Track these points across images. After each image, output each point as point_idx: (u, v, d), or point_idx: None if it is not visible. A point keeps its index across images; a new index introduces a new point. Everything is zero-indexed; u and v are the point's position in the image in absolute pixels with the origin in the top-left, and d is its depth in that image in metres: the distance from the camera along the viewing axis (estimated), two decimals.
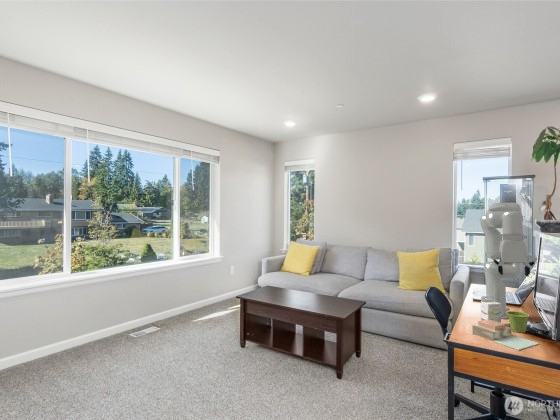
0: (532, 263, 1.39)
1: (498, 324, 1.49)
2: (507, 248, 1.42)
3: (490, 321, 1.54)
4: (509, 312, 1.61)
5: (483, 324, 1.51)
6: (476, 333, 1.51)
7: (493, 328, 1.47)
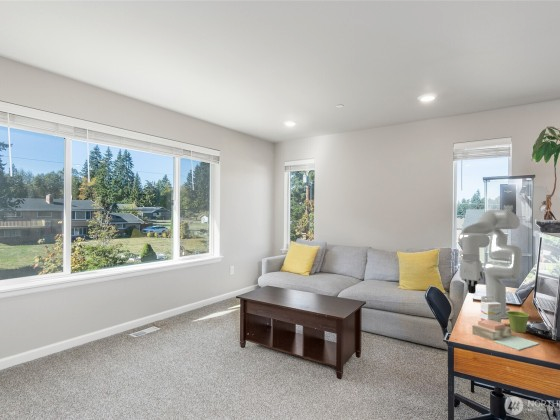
0: None
1: (498, 324, 1.49)
2: None
3: (490, 321, 1.54)
4: (509, 312, 1.61)
5: (483, 324, 1.51)
6: (476, 333, 1.51)
7: (493, 328, 1.47)
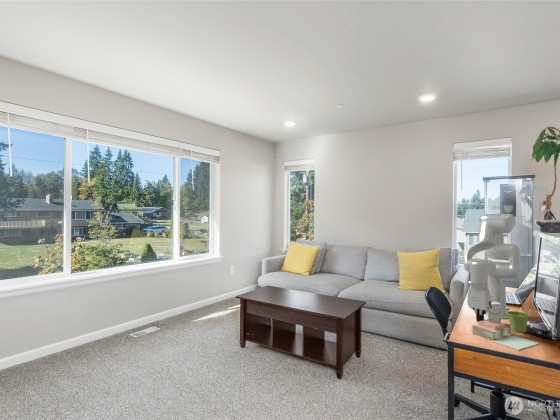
0: None
1: (498, 324, 1.49)
2: None
3: (490, 321, 1.54)
4: (509, 312, 1.61)
5: (483, 324, 1.51)
6: (476, 333, 1.51)
7: (493, 328, 1.47)
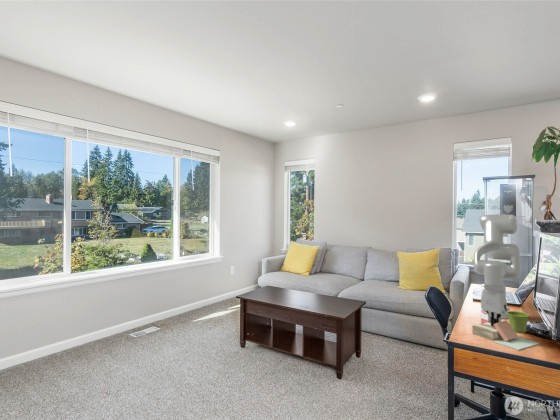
0: None
1: (512, 336, 1.44)
2: None
3: (507, 326, 1.47)
4: (509, 312, 1.61)
5: (499, 328, 1.45)
6: (476, 333, 1.51)
7: (505, 339, 1.42)
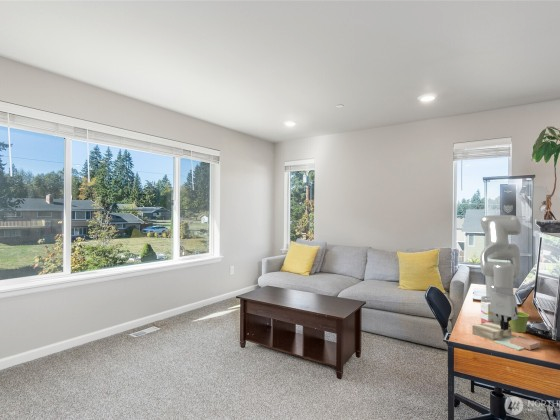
0: None
1: None
2: None
3: None
4: None
5: (523, 345, 1.36)
6: (476, 333, 1.51)
7: (511, 341, 1.40)
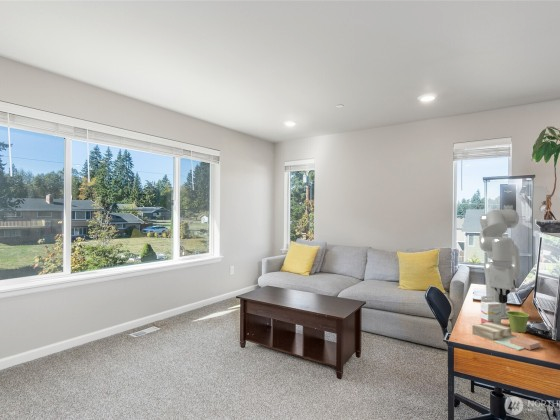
0: None
1: None
2: None
3: None
4: (509, 312, 1.61)
5: (523, 345, 1.36)
6: (476, 333, 1.51)
7: (511, 341, 1.40)
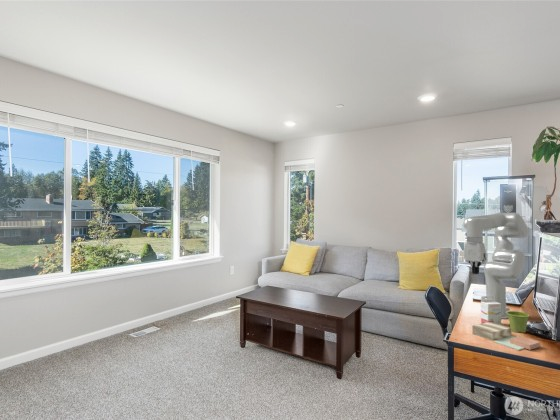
0: None
1: None
2: None
3: None
4: (509, 312, 1.61)
5: (523, 345, 1.36)
6: (476, 333, 1.51)
7: (511, 341, 1.40)
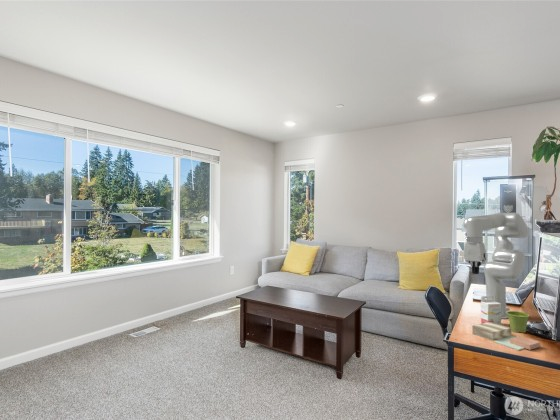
0: None
1: None
2: None
3: None
4: (509, 312, 1.61)
5: (523, 345, 1.36)
6: (476, 333, 1.51)
7: (511, 341, 1.40)
